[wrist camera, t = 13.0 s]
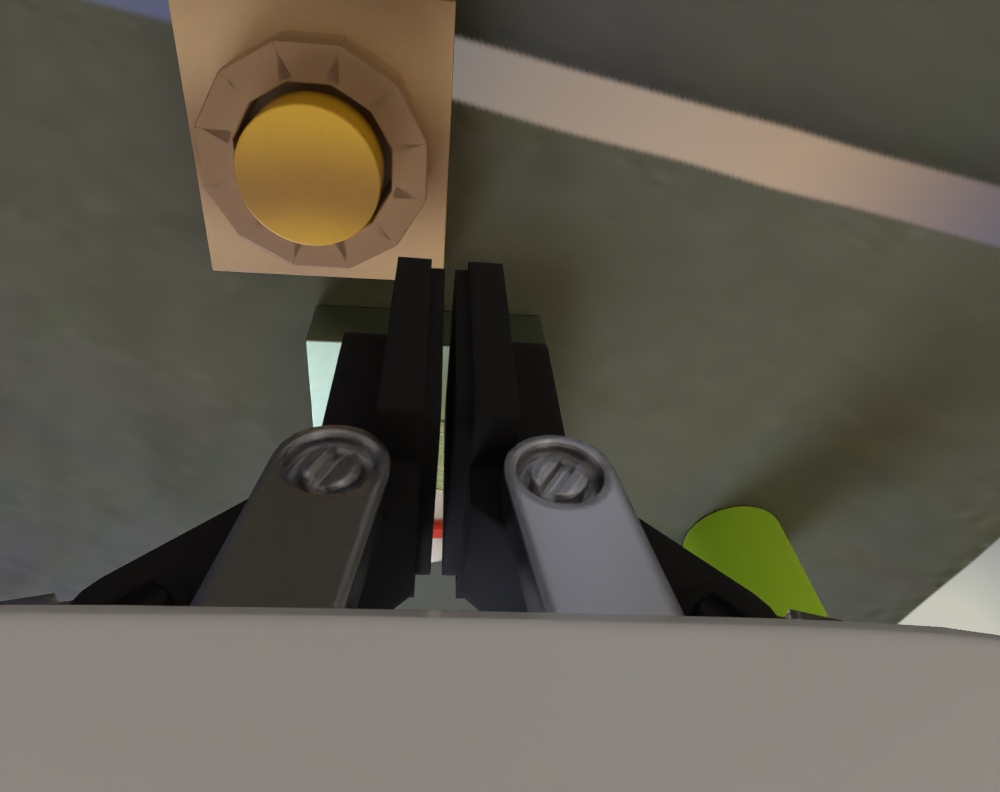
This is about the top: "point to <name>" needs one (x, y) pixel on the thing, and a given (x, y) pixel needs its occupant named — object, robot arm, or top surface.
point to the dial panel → (339, 320)
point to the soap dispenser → (755, 557)
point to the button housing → (336, 71)
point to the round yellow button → (310, 168)
